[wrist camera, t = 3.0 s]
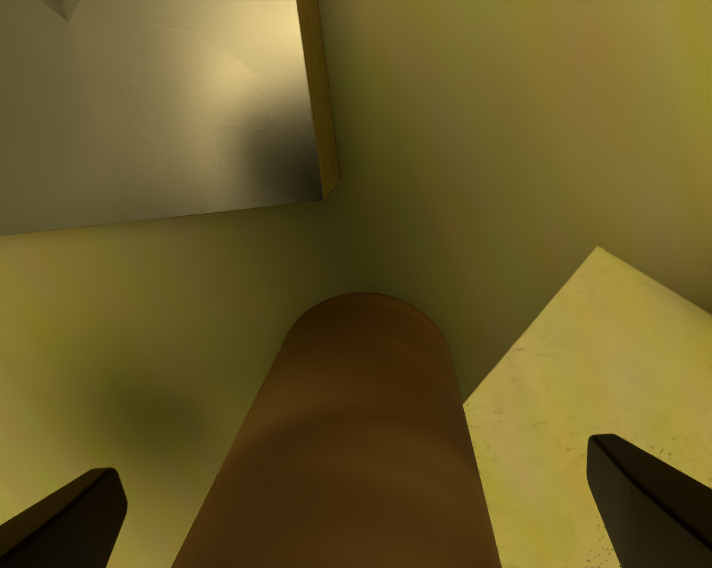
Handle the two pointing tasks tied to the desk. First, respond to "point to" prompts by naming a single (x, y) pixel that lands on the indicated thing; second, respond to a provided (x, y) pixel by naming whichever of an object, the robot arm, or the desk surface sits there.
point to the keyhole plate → (160, 110)
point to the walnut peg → (350, 453)
